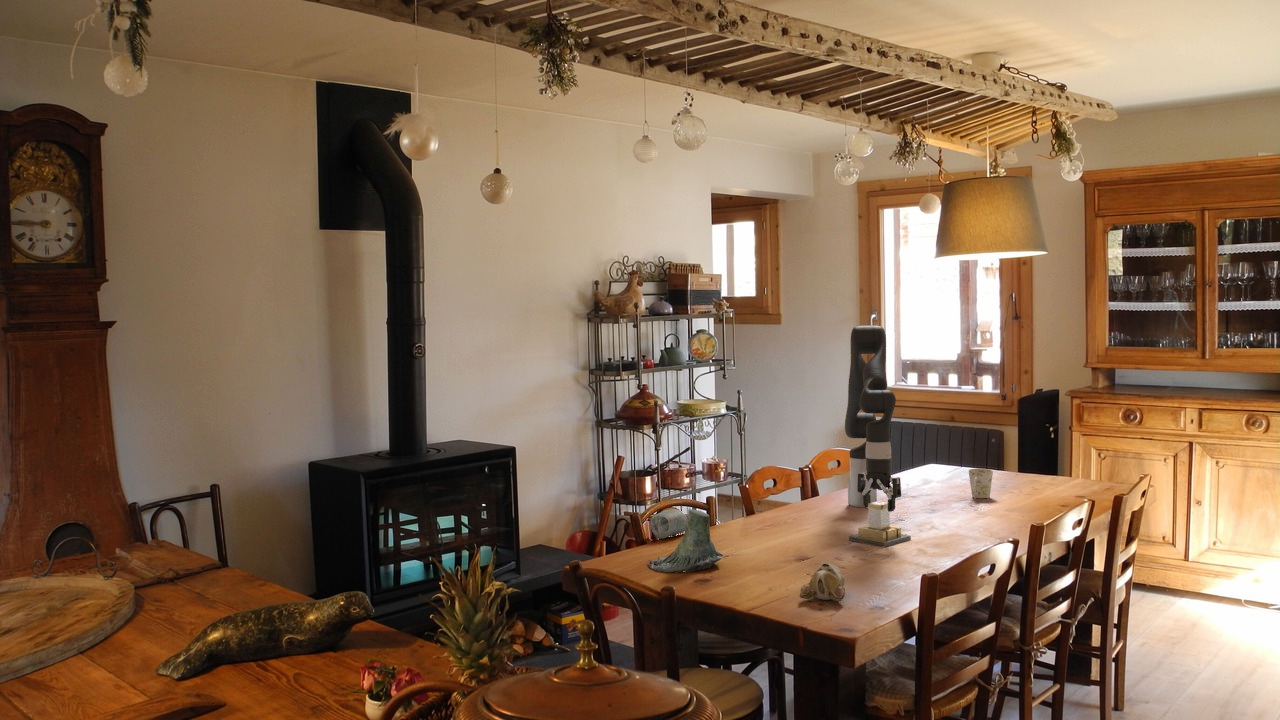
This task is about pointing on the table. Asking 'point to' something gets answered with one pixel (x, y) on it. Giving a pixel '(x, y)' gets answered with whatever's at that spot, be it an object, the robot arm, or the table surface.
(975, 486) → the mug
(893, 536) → the fitting socket
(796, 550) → the table surface
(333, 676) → the table surface
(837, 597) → the ceramic sculpture
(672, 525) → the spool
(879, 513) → the white upright block
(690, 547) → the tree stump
